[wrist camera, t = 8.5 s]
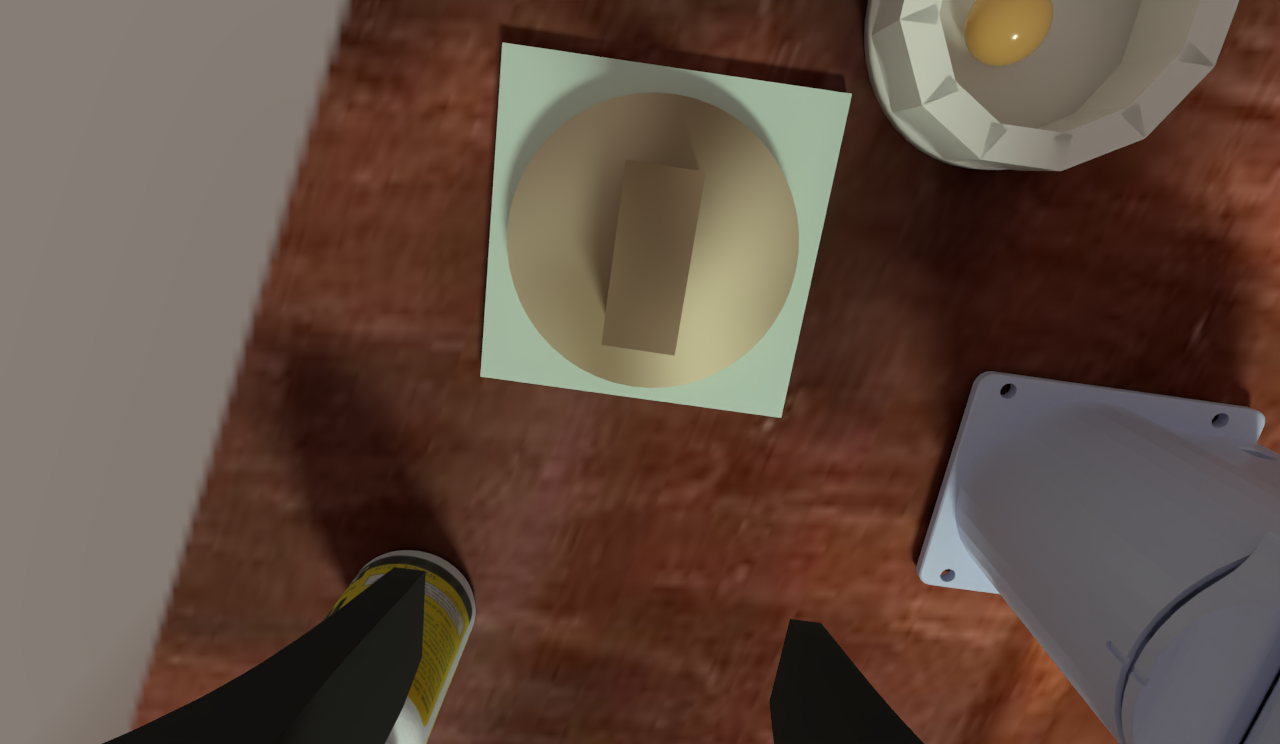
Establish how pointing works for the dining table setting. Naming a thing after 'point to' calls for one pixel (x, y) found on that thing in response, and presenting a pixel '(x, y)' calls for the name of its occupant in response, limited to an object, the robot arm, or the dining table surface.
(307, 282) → the dining table surface
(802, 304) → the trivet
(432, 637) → the supplement bottle
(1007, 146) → the bowl
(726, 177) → the lid
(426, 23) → the dining table surface
